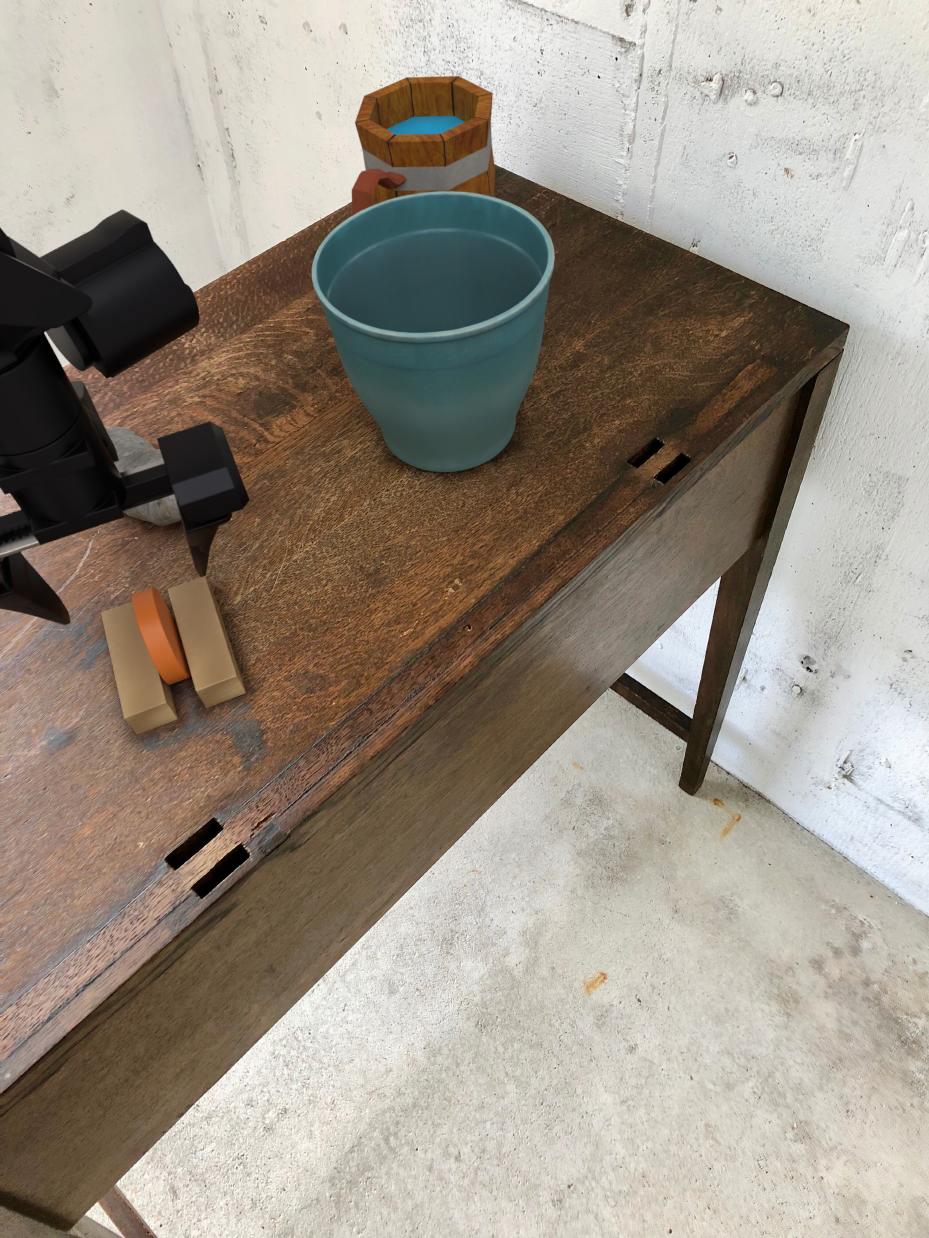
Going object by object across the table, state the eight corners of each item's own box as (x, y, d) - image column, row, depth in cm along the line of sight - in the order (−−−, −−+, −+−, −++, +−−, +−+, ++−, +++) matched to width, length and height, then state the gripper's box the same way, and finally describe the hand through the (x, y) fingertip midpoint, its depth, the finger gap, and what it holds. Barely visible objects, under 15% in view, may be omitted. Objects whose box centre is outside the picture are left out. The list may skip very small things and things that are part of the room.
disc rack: (137, 735, 62) (123, 718, 60) (113, 630, 68) (100, 612, 66) (246, 693, 64) (236, 675, 62) (214, 594, 69) (205, 575, 67)
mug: (416, 208, 100) (399, 65, 88) (522, 234, 96) (521, 87, 83) (321, 306, 90) (288, 160, 78) (434, 339, 86) (418, 190, 74)
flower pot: (558, 497, 73) (564, 325, 59) (344, 509, 74) (300, 342, 60) (543, 358, 83) (545, 183, 70) (355, 369, 84) (320, 199, 70)
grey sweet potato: (117, 414, 78) (88, 371, 70) (226, 515, 77) (209, 483, 70) (63, 462, 77) (27, 424, 69) (173, 565, 76) (149, 538, 68)
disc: (178, 701, 64) (143, 650, 58) (158, 629, 68) (124, 575, 62) (198, 694, 64) (165, 642, 58) (177, 622, 68) (145, 567, 62)
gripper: (169, 288, 52) (239, 473, 65) (-157, 382, 49) (-16, 558, 62) (211, 399, 46) (280, 580, 59) (-158, 515, 43) (-1, 680, 56)
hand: (135, 595), depth 59 cm, fingers open, 9 cm apart
